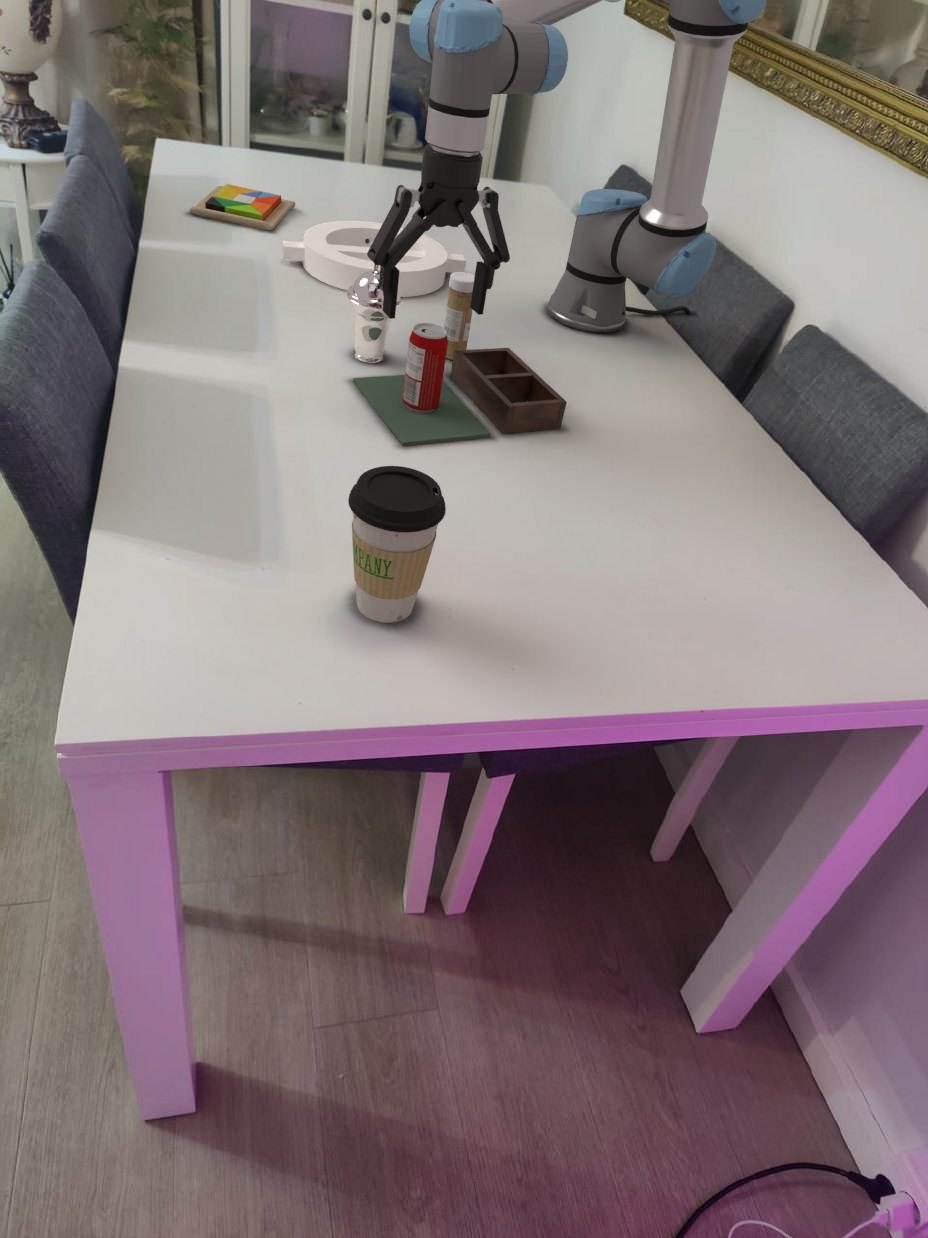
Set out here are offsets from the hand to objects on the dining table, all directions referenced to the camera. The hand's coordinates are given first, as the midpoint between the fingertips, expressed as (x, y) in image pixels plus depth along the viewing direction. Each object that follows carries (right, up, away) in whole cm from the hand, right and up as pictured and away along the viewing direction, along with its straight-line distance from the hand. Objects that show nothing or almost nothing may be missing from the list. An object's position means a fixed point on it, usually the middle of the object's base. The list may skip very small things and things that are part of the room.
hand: (433, 312), depth 127 cm
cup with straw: (-11, 0, +20) cm, 23 cm away
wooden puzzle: (-43, +44, +66) cm, 90 cm away
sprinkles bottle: (+2, +2, +26) cm, 26 cm away
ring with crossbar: (-14, +26, +52) cm, 60 cm away
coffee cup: (-4, -42, -28) cm, 50 cm away
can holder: (+11, -9, +15) cm, 21 cm away
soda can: (-2, -11, +9) cm, 14 cm away
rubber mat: (-2, -11, +9) cm, 15 cm away
